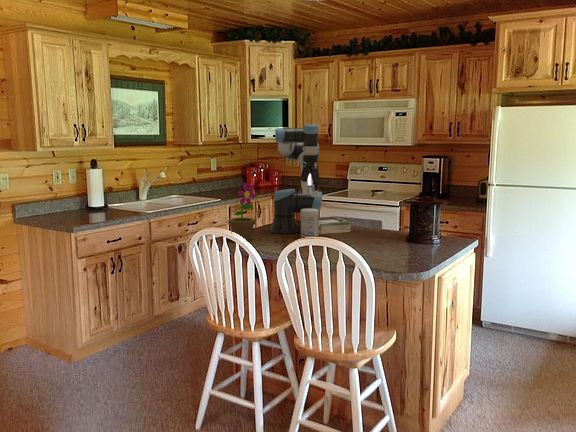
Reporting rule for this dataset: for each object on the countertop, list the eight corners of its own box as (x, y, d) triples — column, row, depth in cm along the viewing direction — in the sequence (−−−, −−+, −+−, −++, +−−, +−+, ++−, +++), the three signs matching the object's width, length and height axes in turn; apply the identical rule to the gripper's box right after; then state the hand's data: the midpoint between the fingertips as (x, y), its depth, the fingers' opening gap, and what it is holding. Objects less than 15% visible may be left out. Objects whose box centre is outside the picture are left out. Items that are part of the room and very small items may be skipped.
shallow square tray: (301, 227, 313) (301, 218, 312) (334, 225, 321) (334, 216, 320) (316, 234, 295) (316, 224, 294) (350, 231, 302) (350, 222, 301)
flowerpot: (241, 243, 272) (240, 183, 267) (222, 239, 282) (221, 181, 277) (261, 239, 282) (261, 181, 278) (243, 235, 292) (242, 179, 287)
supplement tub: (308, 234, 295) (309, 207, 292) (322, 236, 288) (322, 209, 286) (296, 237, 288) (296, 209, 285) (310, 239, 281) (310, 211, 279)
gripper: (294, 153, 291) (294, 192, 295) (313, 155, 268) (313, 198, 272) (307, 153, 294) (307, 192, 297) (327, 155, 271) (326, 197, 274)
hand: (310, 195), depth 284 cm, fingers open, 13 cm apart
